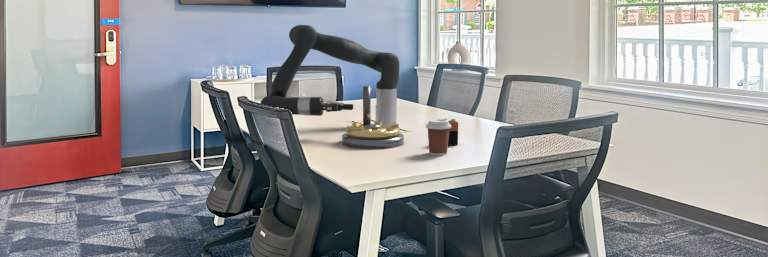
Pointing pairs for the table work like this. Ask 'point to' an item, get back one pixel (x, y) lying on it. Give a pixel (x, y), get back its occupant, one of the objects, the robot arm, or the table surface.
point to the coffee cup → (438, 136)
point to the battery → (453, 132)
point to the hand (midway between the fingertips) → (352, 107)
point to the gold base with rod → (370, 129)
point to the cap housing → (373, 142)
